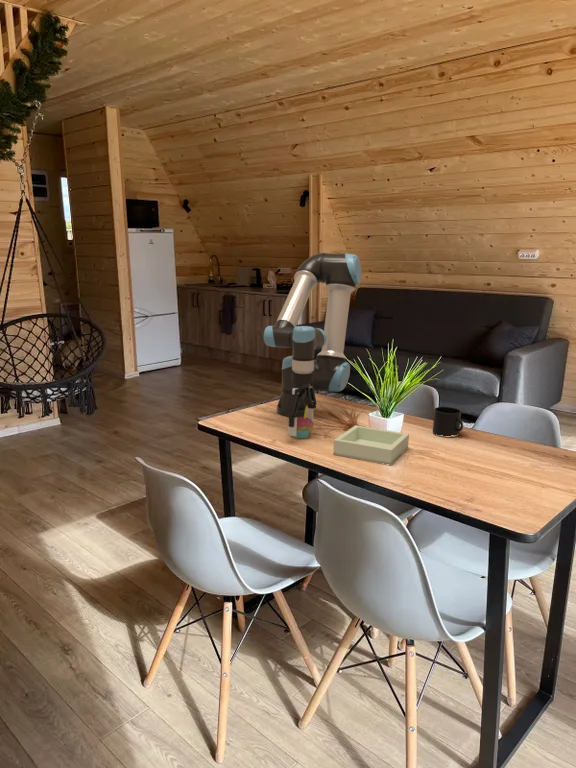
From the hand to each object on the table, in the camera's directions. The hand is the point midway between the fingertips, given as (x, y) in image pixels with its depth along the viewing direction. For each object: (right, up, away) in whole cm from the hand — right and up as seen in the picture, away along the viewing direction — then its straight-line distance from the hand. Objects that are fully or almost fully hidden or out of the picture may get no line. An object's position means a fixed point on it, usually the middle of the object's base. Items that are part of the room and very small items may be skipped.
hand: (300, 430), depth 213 cm
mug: (+54, -2, +7) cm, 54 cm away
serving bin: (+23, -6, -13) cm, 27 cm away
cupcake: (0, -2, +1) cm, 2 cm away
